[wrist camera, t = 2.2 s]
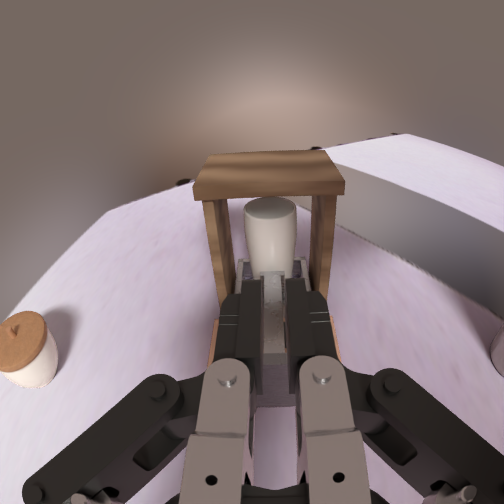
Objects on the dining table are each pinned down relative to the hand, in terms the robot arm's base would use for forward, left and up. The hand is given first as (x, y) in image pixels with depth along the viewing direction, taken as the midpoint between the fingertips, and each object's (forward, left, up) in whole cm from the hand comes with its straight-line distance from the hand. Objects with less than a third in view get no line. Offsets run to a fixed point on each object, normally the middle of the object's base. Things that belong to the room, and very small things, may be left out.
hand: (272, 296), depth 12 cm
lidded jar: (+25, -25, -24) cm, 43 cm away
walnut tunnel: (-13, -23, -24) cm, 35 cm away
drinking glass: (-13, -23, -24) cm, 36 cm away
